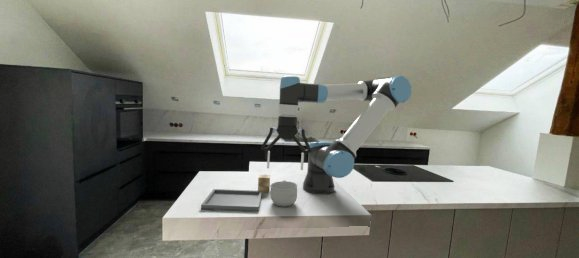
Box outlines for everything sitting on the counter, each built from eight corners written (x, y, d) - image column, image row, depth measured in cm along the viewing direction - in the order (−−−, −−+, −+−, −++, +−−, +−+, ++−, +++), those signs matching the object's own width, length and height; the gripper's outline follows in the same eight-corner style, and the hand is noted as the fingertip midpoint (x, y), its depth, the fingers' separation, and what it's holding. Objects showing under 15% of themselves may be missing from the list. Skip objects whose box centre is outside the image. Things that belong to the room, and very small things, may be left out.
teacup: (293, 210, 99) (294, 190, 98) (266, 207, 101) (267, 187, 100) (299, 198, 113) (300, 180, 112) (275, 195, 115) (276, 177, 114)
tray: (261, 194, 114) (262, 190, 114) (258, 211, 97) (258, 206, 96) (213, 193, 114) (213, 189, 113) (200, 209, 96) (201, 204, 96)
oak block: (269, 189, 122) (270, 175, 121) (269, 193, 117) (269, 178, 116) (258, 189, 122) (259, 174, 121) (257, 192, 117) (258, 177, 116)
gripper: (317, 117, 108) (314, 167, 110) (257, 113, 107) (254, 164, 109) (320, 118, 100) (316, 172, 102) (255, 114, 99) (252, 169, 101)
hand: (284, 168), depth 106 cm, fingers open, 13 cm apart
